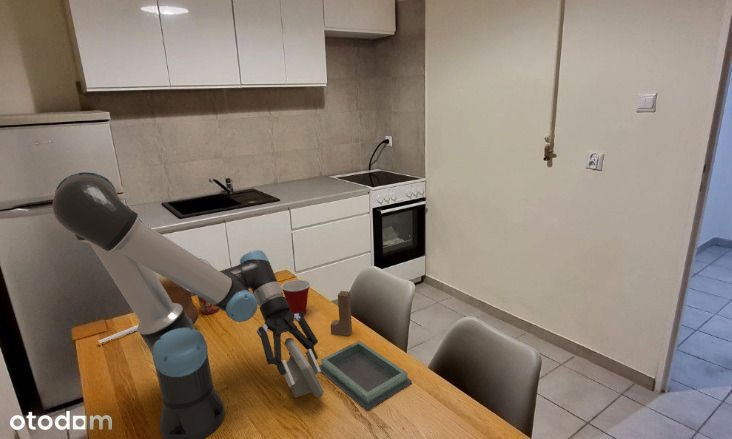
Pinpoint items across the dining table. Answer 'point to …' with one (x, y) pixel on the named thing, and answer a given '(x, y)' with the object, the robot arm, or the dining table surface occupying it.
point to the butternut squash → (179, 297)
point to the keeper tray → (364, 374)
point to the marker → (120, 334)
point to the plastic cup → (296, 295)
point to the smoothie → (207, 306)
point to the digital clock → (301, 372)
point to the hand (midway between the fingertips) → (305, 379)
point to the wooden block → (343, 316)
